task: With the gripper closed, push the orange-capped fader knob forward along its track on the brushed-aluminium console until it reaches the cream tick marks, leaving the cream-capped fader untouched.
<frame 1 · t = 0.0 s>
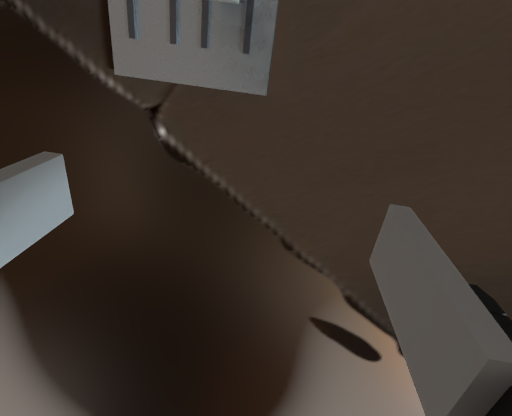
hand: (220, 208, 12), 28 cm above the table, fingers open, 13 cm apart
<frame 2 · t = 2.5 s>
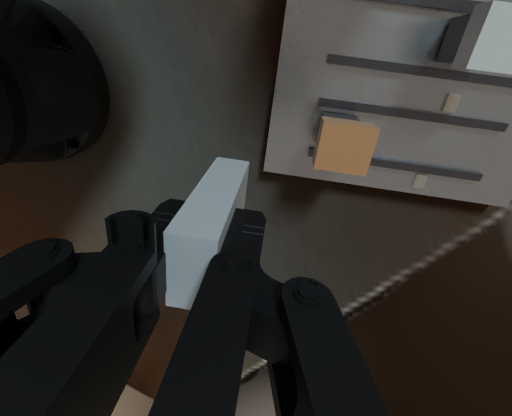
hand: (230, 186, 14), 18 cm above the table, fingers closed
fader a: (339, 139, 25), point 5 cm above the table, slide at 0.0 cm
console: (408, 90, 27), on the table
fader b: (484, 41, 21), point 5 cm above the table, slide at 8.0 cm
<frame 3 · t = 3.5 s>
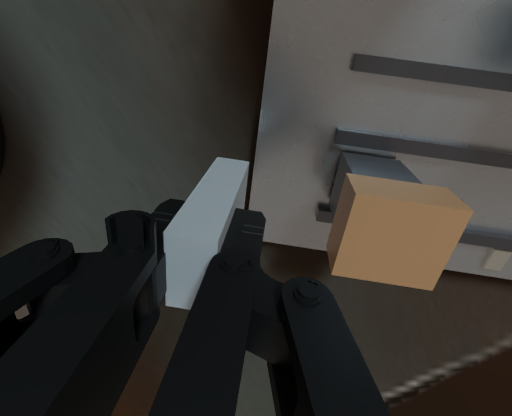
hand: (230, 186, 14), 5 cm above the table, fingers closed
fader a: (376, 208, 14), point 5 cm above the table, slide at 0.0 cm
console: (485, 114, 16), on the table
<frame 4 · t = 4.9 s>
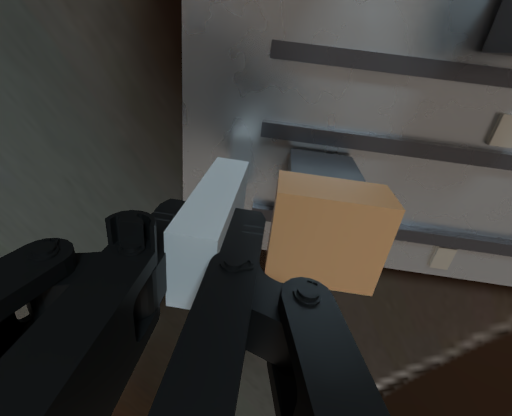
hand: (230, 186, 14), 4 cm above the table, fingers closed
fader a: (320, 207, 13), point 5 cm above the table, slide at 1.1 cm, touching gripper
console: (423, 105, 16), on the table
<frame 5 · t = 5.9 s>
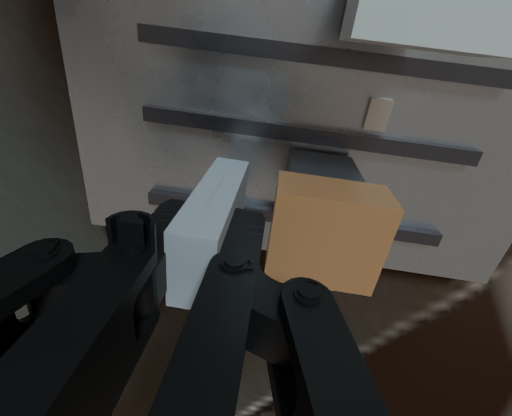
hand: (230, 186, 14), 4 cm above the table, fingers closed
fader a: (320, 207, 13), point 5 cm above the table, slide at 6.8 cm, touching gripper
console: (311, 91, 16), on the table
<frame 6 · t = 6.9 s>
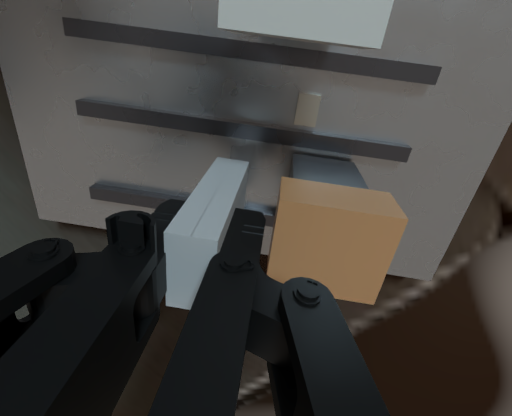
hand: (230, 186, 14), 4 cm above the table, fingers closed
fader a: (322, 213, 13), point 5 cm above the table, slide at 10.2 cm, touching gripper
console: (249, 87, 16), on the table
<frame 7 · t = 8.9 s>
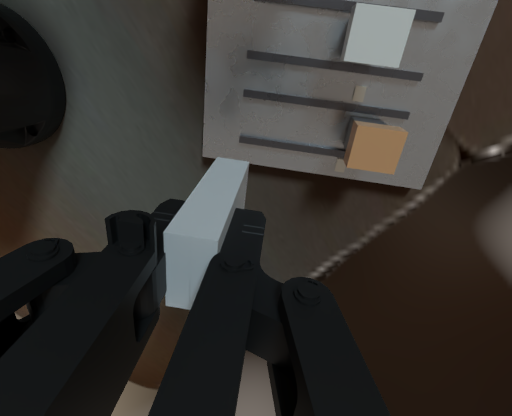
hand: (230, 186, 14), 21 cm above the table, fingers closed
fader a: (368, 141, 28), point 5 cm above the table, slide at 10.3 cm
console: (326, 83, 31), on the table
fader b: (369, 38, 24), point 5 cm above the table, slide at 8.0 cm
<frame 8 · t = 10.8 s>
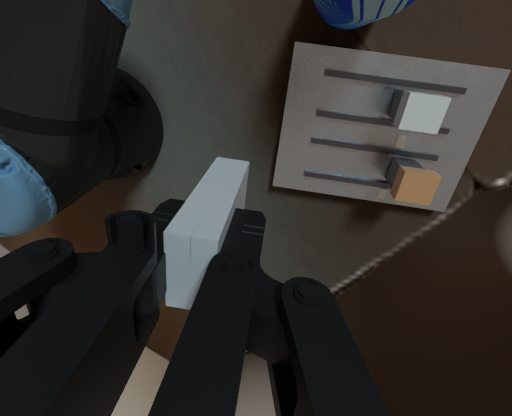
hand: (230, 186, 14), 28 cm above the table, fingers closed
fader a: (408, 179, 37), point 5 cm above the table, slide at 10.3 cm
console: (373, 131, 40), on the table
fader b: (413, 108, 33), point 5 cm above the table, slide at 8.0 cm
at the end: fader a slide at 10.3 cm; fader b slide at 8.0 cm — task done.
